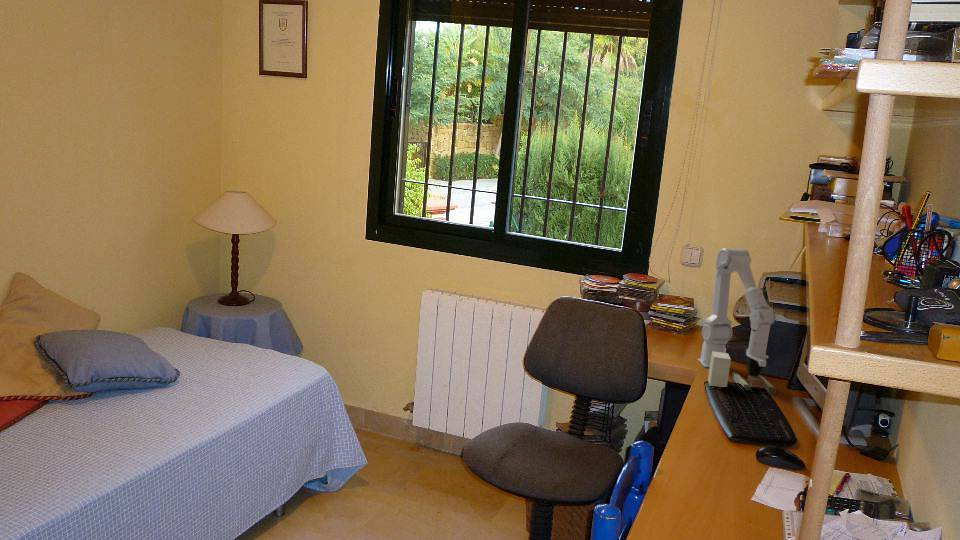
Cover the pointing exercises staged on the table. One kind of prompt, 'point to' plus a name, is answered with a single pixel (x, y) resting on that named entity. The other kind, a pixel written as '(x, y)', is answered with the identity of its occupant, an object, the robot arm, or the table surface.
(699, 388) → the table surface
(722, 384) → the small box
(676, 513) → the table surface
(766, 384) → the rail track
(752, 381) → the walnut block
